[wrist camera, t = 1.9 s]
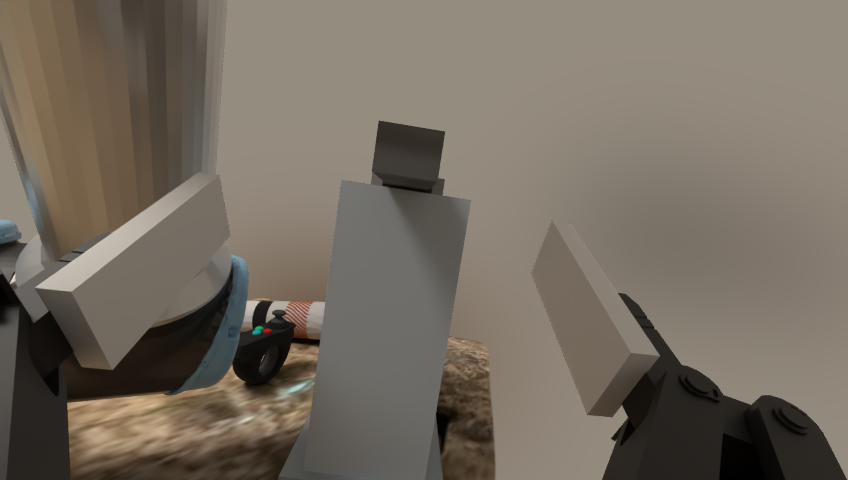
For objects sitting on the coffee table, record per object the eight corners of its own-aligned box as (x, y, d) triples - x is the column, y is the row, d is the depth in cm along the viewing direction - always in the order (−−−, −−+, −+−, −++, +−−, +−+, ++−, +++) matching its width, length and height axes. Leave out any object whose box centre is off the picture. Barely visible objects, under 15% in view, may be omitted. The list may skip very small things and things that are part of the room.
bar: (437, 181, 21) (445, 131, 21) (371, 171, 21) (378, 120, 21) (423, 195, 47) (426, 173, 47) (394, 190, 47) (397, 168, 47)
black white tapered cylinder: (222, 344, 72) (235, 295, 76) (387, 353, 71) (391, 304, 75) (191, 337, 63) (208, 282, 67) (381, 348, 62) (386, 292, 66)
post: (441, 514, 34) (497, 186, 32) (276, 495, 34) (318, 158, 31) (430, 394, 56) (462, 195, 53) (329, 381, 55) (357, 178, 53)
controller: (294, 369, 58) (302, 310, 57) (233, 406, 46) (242, 332, 45) (273, 362, 59) (280, 304, 58) (208, 397, 47) (215, 324, 46)
